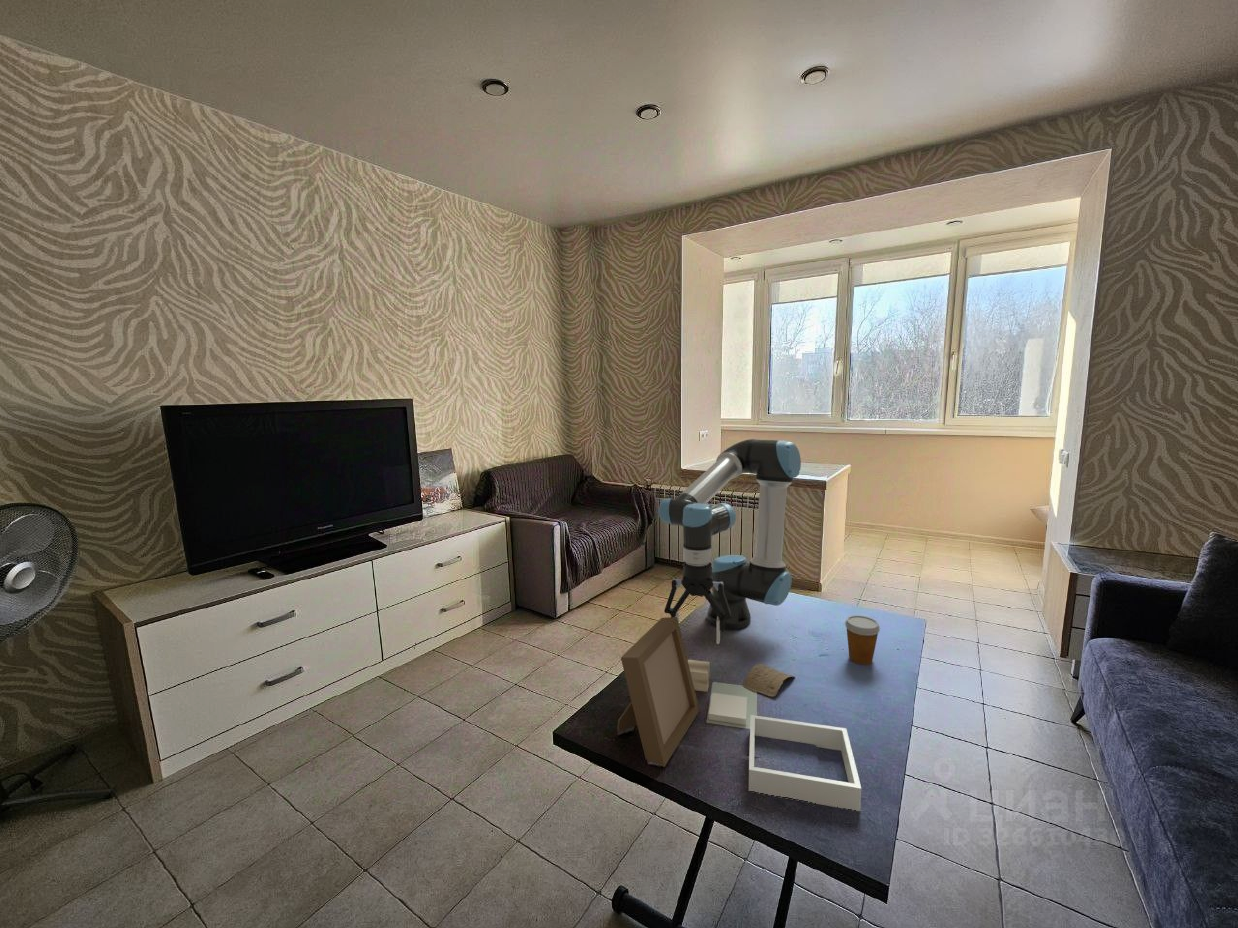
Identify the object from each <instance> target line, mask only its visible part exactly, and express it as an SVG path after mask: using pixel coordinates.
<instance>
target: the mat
mask: <svg viewBox="0 0 1238 928" xmlns="http://www.w3.org/2000/svg"><path fill="white" fill-rule="evenodd" d="M712 693H719V694H726V695H734V696H741V697H747V718H746V725H743V724H736V723H729V722H722V721H715V720H709V709H710V703H711V696H712ZM707 709H708V710H707V717H706V722H705V723H706V724H713V725H717V726H718V725H720V726H725V727H732V728H740V729H745V730H750V716H751V715H755V716H758V692H753V691H751V690H749V689H747V688H745V687H744V686H743V685H742V684H741V685H739V684H732V683H726V682H718V681H712V685H711V690H710V696H709V704H708V708H707Z"/></svg>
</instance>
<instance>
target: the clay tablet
mask: <svg viewBox="0 0 1238 928" xmlns="http://www.w3.org/2000/svg"><path fill="white" fill-rule="evenodd" d="M791 677H792V678H794V675H793V676H792V675H790V674H787V673H784V672H782V671H781V670H780V671H779V670H777V669H775V668H773V667H772V668H771V667H769V666H767V665H765V664H761V663H759V664H756V665H754V666H753V667H752V668H751V669H750V670H749V671H748V672H747V674H746V676H745V679H744V680H743V682H742V686H744V687H745V688H747V689H749V690H751V691H753V692H757V693H760V694H762V695H765V696H768V697H776V696H777V695H778V692H779V689H780V688H781V686H782V685H783V683H784V681H785V680H787V679H788V678H791Z"/></svg>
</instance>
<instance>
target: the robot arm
mask: <svg viewBox="0 0 1238 928" xmlns="http://www.w3.org/2000/svg"><path fill="white" fill-rule="evenodd" d="M715 460H716V461H715V462H714V463H713V464H712V465H711V466H710V467H708V468H707V469H706V471H705V472H703V473H702V474H701V475H700V476H699V477H698V478H697V479H696V480H694V481H693V482H692V483H691V484H689V486H688V487H686V489H684V491H682V492H681V493H680V494H679V495H678V496H677V497H675V498H672V497H670V498H664V499H663V500H662V501H661V502H660V504H659V506H658V517H659V519H660V520H661V521H662V522H663V523H666V524H670V525H672V526H677V527H679V526H680V527H682V533H683V534H682V537H683V538H682V539H683V540H682V541H683V543H682V547H683V548H682V552H683V553H682V555H683V556H682V560H683V563H682V569H683V571H682V572H683V574H682V578H677V577H676V576H675V577H674V576H673V578H672V580H671V590H670V592H669V596H668V598H667V601H666V604H665V606H664V611H663V612H664V614H669V615H670V617H677V619H678V623H679V624H680V612H678V611H679V610H680V608H681V607H682V606H683V604H684V602H685V601H686V600H687V598H688V597H689V595H690V596H691V597H696V596H698V597H704V598H705V600H706V601H708V603H709V607H708V609H707V613H706V616H707V617H706V620H707V622H708V623H709V624H710V625H712V626H713V627H716V644H717V645H719V644H720V642H721V632H724V631H725V630H731V631H733V630H741V629H745V628H747V627H749V626H750V624H751V619H752V617H751V616H752V615H751V612H750V610H749V607H748V603H747V599H748V600H752V601H755V602H758V603H762V604H764V605H771V606H776V607H777V606H781V605H782V604H783V603H784V602H785V601H786V600H787V598H788V596H789V593H790V591H791V588H792V587H791V586H792V582H793V581H792V580H793V579H792V574H791V573H790V572H789V571H786V568H787V565H786V563H785V561H784V560H783V559H782V556H783V547H784V546H783V545H784V533H785V531H784V530H785V519H786V506H787V493H788V487H789V486H791V485H792V484H793V480H794V479H795V478H797V477H798V476H799V475H800V472H801V469H802V468H801V467H802V461H801V460H802V459H801V453H800V450H799V448H798V446H797V445H796V443H794V442H792V441H789V440H788V441H787V440H782V439H781V440H780V439H779V440H777V439H776V440H773V439H753V438H752V439H751V438H750V439H745V440H741V441H739V442H736V443H734V444H732V445H731V446H729V447H727V448H726V449H724V450H723V451H722V452H721V453H720V454H718V455H717V457H716V459H715ZM742 474H752V475H753V474H754V475H755V481H756V482H757V483H758V484H759V494H758V495H759V498H758V509H757V522H756V525H757V526H756V533H755V534H756V535H755V537H756V538H755V549H754V556H753V557H751V559H749V563H748V560H747V558H746V557H745V556H744V555H740V554H728V555H727V554H726V555H721V556H718V557H716V558H715V559H714V560H713V561H712V558H713V557H712V555H713V554H712V552H713V551H712V550H713V549H712V540H713V539H712V537H713V536H715V535H717V534H720V533H723V532H725V531H727V530H728V529H730V528H731V527H733V526H734V525H735V523H736V520H737V515H736V511H735V509H734V507H733V506H731V505H730V504H728V503H726V502H721V503H720V502H719V503H716V504H710V503H708V502H710V501H711V500H712V498H714V496H716V495H717V494H718V493H719V492H720V491H721V490H722V489H723V488H724V487H725V486H726V485H727V484H728V483H729V482H730V481H731V480H732V479H735V478H738V477H739V476H740V475H742ZM681 585H682V586H683V587H684V589H685V590H684V592H683V593H682V594H681V596H680V597H679V598H678V600H677V602H676V603H675V604H674V606H673V607H671V606H672V603H673V601H674V598H675V595H676V593H677V592H676V591H677V589H678V588H680V586H681Z"/></svg>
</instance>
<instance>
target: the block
mask: <svg viewBox="0 0 1238 928" xmlns="http://www.w3.org/2000/svg"><path fill="white" fill-rule="evenodd" d="M687 660H688V664H689V668H690V673H691V677H692V681H693V685H694V689H695V691H699V692H708V690H709V685H710V671H711V670H710V661H703V660H696V659H695V660H694V659H687Z"/></svg>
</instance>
